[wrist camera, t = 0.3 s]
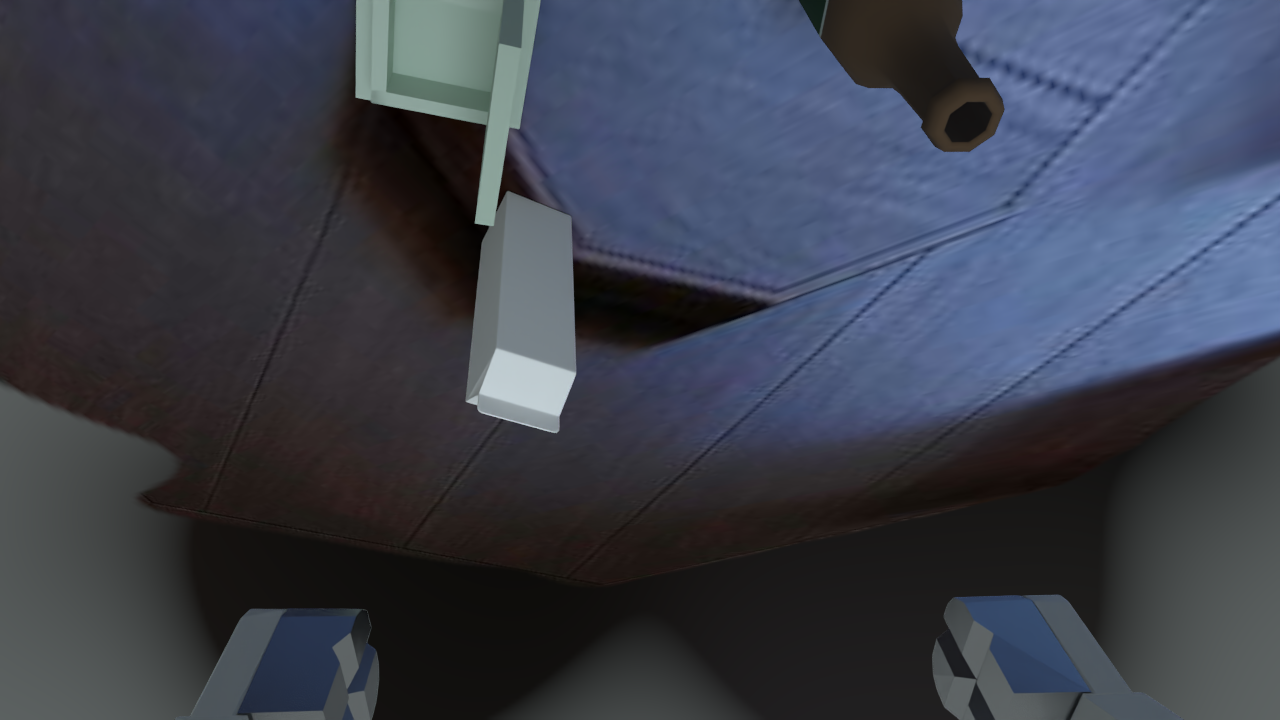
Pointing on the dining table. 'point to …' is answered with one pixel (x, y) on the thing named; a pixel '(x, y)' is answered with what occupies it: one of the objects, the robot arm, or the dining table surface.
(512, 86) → the holder
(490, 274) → the milk
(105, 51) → the dining table surface
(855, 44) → the beer bottle
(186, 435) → the dining table surface
